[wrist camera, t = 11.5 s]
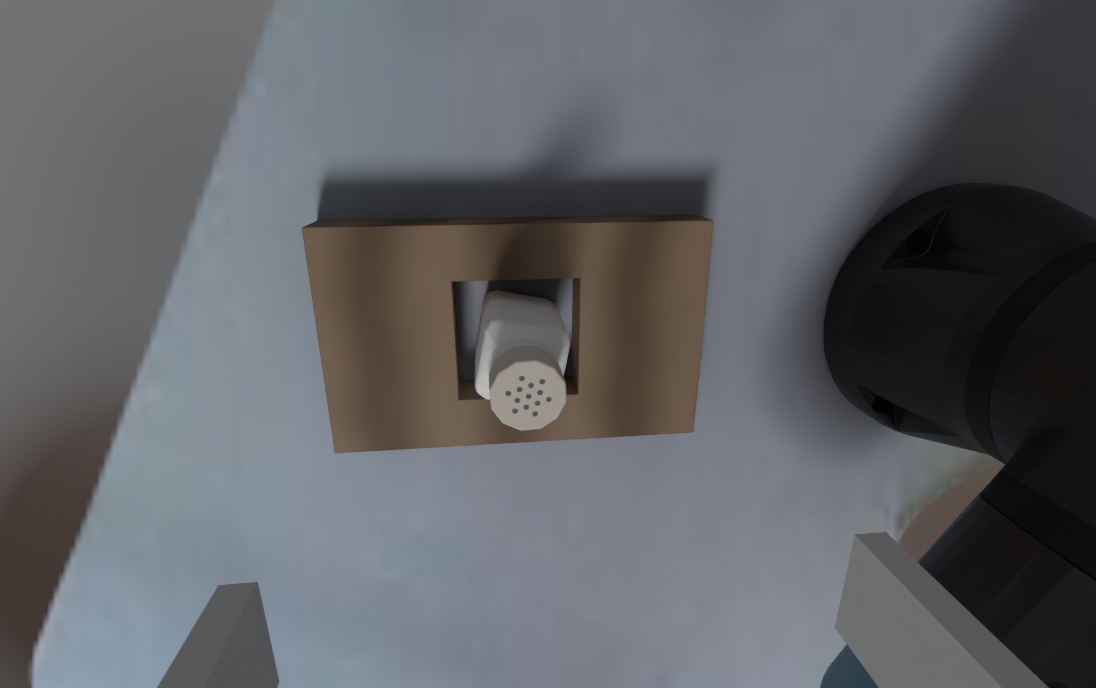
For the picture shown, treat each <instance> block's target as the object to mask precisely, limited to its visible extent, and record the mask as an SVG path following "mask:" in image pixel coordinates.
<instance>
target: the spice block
mask: <svg viewBox="0 0 1096 688" xmlns="http://www.w3.org/2000/svg"><path fill="white" fill-rule="evenodd" d="M712 230H713V221H712V220H709V219H706V218H703V217H700V216H697V215H669V216H607V217H544V218H482V219H420V220H358V221H316V222H314V223H311V224H309V225H307V226H305V227H303V228H302V233H303V240H304V246H305V253H306V260H307V267H308V274H309V280H310V287H311V294H312V301H313V308H314V315H315V321H316V328H317V335H318V342H319V349H320V356H321V362H322V369H323V376H324V383H325V390H326V397H327V403H328V410H329V417H330V424H331V431H332V437H333V444H334V451H335V453H347V452H364V451H381V450H399V449H416V448H433V447H450V446H467V445H484V444H501V443H518V442H536V441H553V440H570V439H587V438H604V437H621V436H638V435H655V434H673V433H690V432H694V421H695V411H696V400H697V389H698V379H699V368H700V358H701V347H702V336H703V326H704V315H705V304H706V294H707V283H708V273H709V262H710V251H711V241H712ZM558 278H573V304H572V377H564V379H565V382H566V397H567V402H566V403H565V405H564V407H563V409H562V411H561V412H560V414H559V416H558V418H557V419H555V420H553V421H552V422H550V423H549V424H547V425H546V426H544V427H543V428H541V429H532V430H522V431H521V430H518V429H516V428H513V427H511V426H508V425H506V424H503V423H502V422H501V420H500V419H499V418H498V417H497V415H496V414H495V413H494V412H493V410H492V409H491V402H490V400H488V399H485V398H484V397H482V396H481V395H480V394H478V393H477V391H476V387H475V381H473V382H460V371H459V354H458V337H457V321H456V304H455V287H454V281H486V280H522V279H558Z"/></svg>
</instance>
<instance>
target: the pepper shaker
mask: <svg viewBox="0 0 1096 688" xmlns="http://www.w3.org/2000/svg"><path fill="white" fill-rule="evenodd" d="M569 347H570V339H569V334H568V331H567V329H566V327H565V325H564V323H563V321H562V318H561V316H560V314H559V312H558V310H557V308H556V306H555V304H554V303H553V302H551V301H550V300H548V299H543V298H538V297H532V296H527V295H521V294H515V293H510V292H504V291H499V290H496V291H491V292H489V293H488V294H487V296H486V297H485V299H484V304H483V309H482V315H481V320H480V326H479V331H478V337H477V342H476V354H475V387H476V391H477V393H478V394H480V395H481V396H482V397H484V398H485V399H488V400H490V402H491V409H492V410H493V412H494V413H495V414H496V415H497V417H498V418H499V419H500V420H501V422H502V423H503V424H506V425H508V426H511V427H513V428H516V429H518V430H521V431H522V430H532V429H541V428H543V427H544V426H546V425H547V424H549V423H550V422H552V421H553V420H555V419H557V418H558V416H559V414H560V412H561V411H562V409H563V407H564V405H565V403H566V402H567V397H566V382H565V379H564V372H565V368H566V363H567V358H568V353H569Z"/></svg>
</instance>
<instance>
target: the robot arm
mask: <svg viewBox="0 0 1096 688" xmlns="http://www.w3.org/2000/svg"><path fill="white" fill-rule="evenodd" d="M824 350H825V356H826V360H827V364H828V367H829V370H830V373H831V375H832V377H833V379H834V381H835V383H836V385H837V386H838V388H839V389H840V391H841V392H842V393H843V395H844V396H845V397H846V398H847V399H848V400H849V401H850V402H851V403H852V404H854V405H855V406H856V407H858V408H859V409H860V410H862V411H863V412H865V413H866V414H868V415H869V416H870V417H872V418H873V419H875V420H876V421H878V422H879V423H881V424H883V425H885V426H886V427H888V428H891V429H893V430H895V431H898V432H900V433H903V434H906V435H909V436H914V437H918V438H922V439H926V440H930V441H934V442H939V443H943V444H947V445H951V446H955V447H959V448H964V449H968V450H972V451H976V452H980V453H984V454H988V455H990V456H992V457H994V458H996V459H997V460H999V461H1001V462H1002V463H1004V464H1005V466H1004V467H1003V468H1002V469H1001V471H999V473H998V474H997V475H996V476H995V477H994V478H993V479H992V481H991V482H990V483H989V484H988V485H987V486H986V487H985V488H984V490H983V491H982V492H981V493H980V494H978V496H976V497H975V499H974V500H973V501H972V502H971V503H970V504H969V505H968V506H967V507H966V509H965V510H964V511H963V512H962V513H961V514H960V515H959V517H958V518H957V519H956V520H955V521H954V522H953V523H952V524H951V525H950V526H949V528H948V529H947V530H946V531H945V532H944V533H943V534H942V535H941V536H940V538H939V539H938V540H937V541H936V542H935V543H934V544H933V546H931V548H930V549H929V550H928V551H927V552H926V553H925V554H924V556H923V557H922V558H921V559H920V560H919V561H918V562H916V561H915V560H914V559H913V558H912V557H911V556H910V555H909V554H908V553H907V552H906V551H905V550H904V549H903V548H902V547H901V546H900V545H899V544H898V543H897V542H896V541H894V540H893V539H892V538H891V537H890V536H889V535H888V534H887V533H886V532H882V533H869V534H856V535H855V536H854V541H853V545H852V550H851V554H850V559H849V564H848V568H847V573H846V578H845V582H844V587H843V592H842V596H841V601H840V606H839V610H838V615H837V620H836V624H835V628H836V630H837V631H838V633H839V634H840V635H841V637H842V638H843V639H844V641H845V642H846V643H847V645H846V646H845V647H844V648H843V650H842V651H841V652H840V653H839V655H838V656H837V657H836V658H835V660H834V661H833V662H832V663H831V665H830V666H829V667H828V669H827V671H826V673H825V675H824V677H823V679H822V682H821V686H820V688H1096V220H1095V219H1093V218H1091V217H1089V216H1088V215H1086V214H1084V213H1082V212H1080V211H1078V210H1076V209H1074V208H1072V207H1070V206H1068V205H1066V204H1064V203H1062V202H1060V201H1058V200H1056V199H1054V198H1052V197H1050V196H1048V195H1046V194H1044V193H1041V192H1038V191H1035V190H1031V189H1027V188H1023V187H1018V186H1009V185H996V184H983V183H965V184H957V185H951V186H947V187H943V188H939V189H936V190H933V191H930V192H928V193H925V194H923V195H921V196H918V197H916V198H914V199H913V200H911V201H909V202H907V203H905V204H904V205H902V206H901V207H899V208H897V209H896V210H895V211H893V212H892V213H890V214H889V215H888V216H887V217H885V218H884V219H883V220H882V221H881V222H880V223H878V224H877V225H876V226H875V227H874V228H873V229H872V230H871V231H870V232H869V233H868V234H867V235H866V236H865V237H864V239H863V240H862V241H861V242H860V243H859V245H858V246H857V247H856V249H855V250H854V251H853V252H852V254H851V255H850V257H849V258H848V260H847V262H846V263H845V265H844V267H843V268H842V270H841V272H840V274H839V276H838V278H837V280H836V283H835V285H834V287H833V290H832V293H831V296H830V299H829V302H828V306H827V310H826V315H825V323H824ZM278 684H279V678H278V673H277V669H276V664H275V659H274V655H273V650H272V645H271V641H270V636H269V632H268V627H267V622H266V618H265V613H264V609H263V604H262V599H261V595H260V590H259V585H258V582H253V583H241V584H228V585H218V587H217V589H216V590H215V592H214V594H213V595H212V597H211V599H210V600H209V602H208V604H207V605H206V607H205V609H204V610H203V612H202V614H201V615H200V617H199V619H198V620H197V622H196V624H195V625H194V627H193V629H192V630H191V632H190V634H189V635H188V637H187V639H186V640H185V642H184V644H183V645H182V647H181V649H180V650H179V652H178V654H177V655H176V657H175V659H174V660H173V662H172V664H171V666H170V667H169V669H168V671H167V672H166V674H165V676H164V677H163V679H162V681H161V682H160V684H159V686H158V687H157V688H277V687H278Z"/></svg>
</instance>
